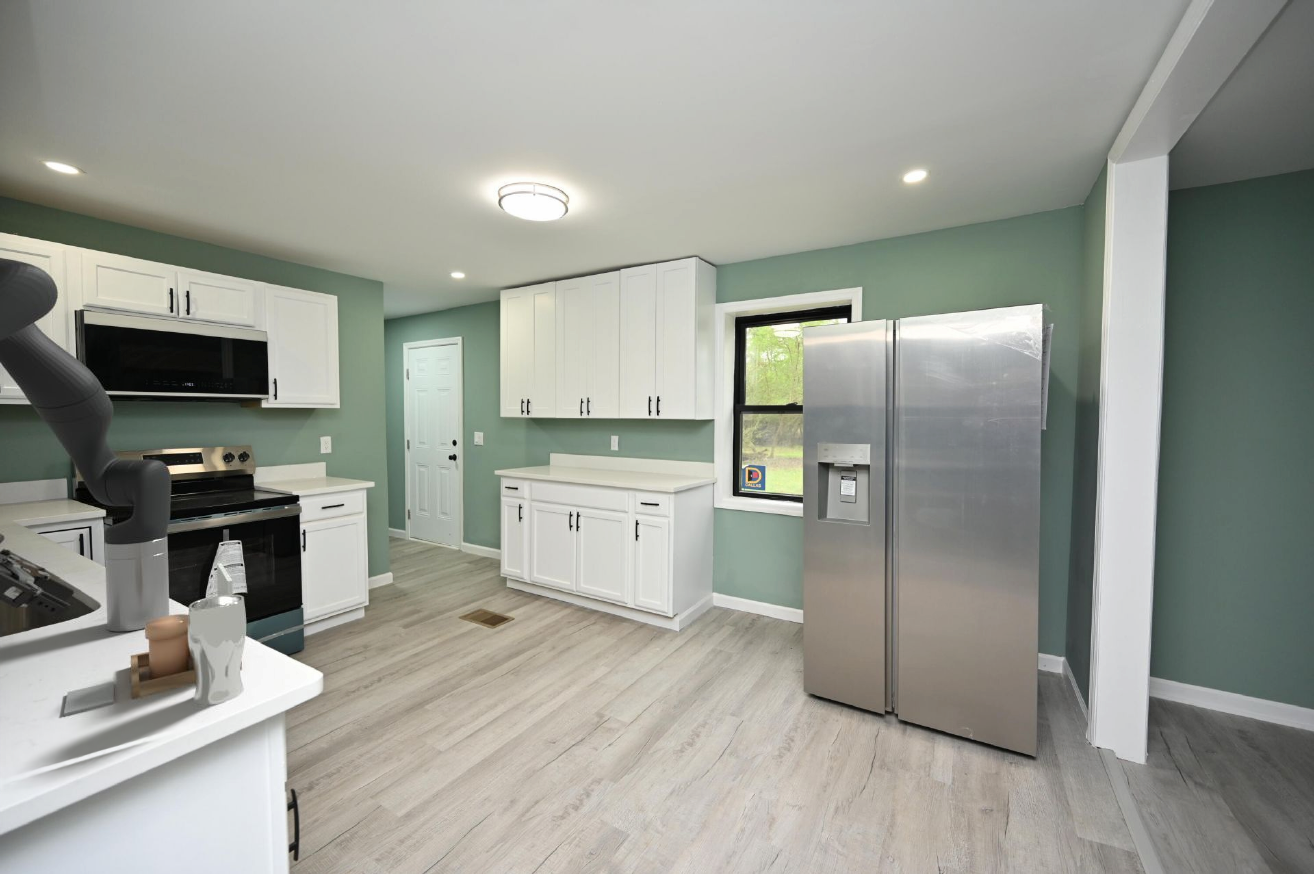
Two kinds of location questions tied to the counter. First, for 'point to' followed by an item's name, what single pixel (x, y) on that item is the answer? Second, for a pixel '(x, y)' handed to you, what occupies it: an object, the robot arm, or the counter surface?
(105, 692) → the tile
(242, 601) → the beer glass
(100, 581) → the counter surface
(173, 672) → the peach mushroom shaped stopper
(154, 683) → the open wooden box
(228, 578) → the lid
